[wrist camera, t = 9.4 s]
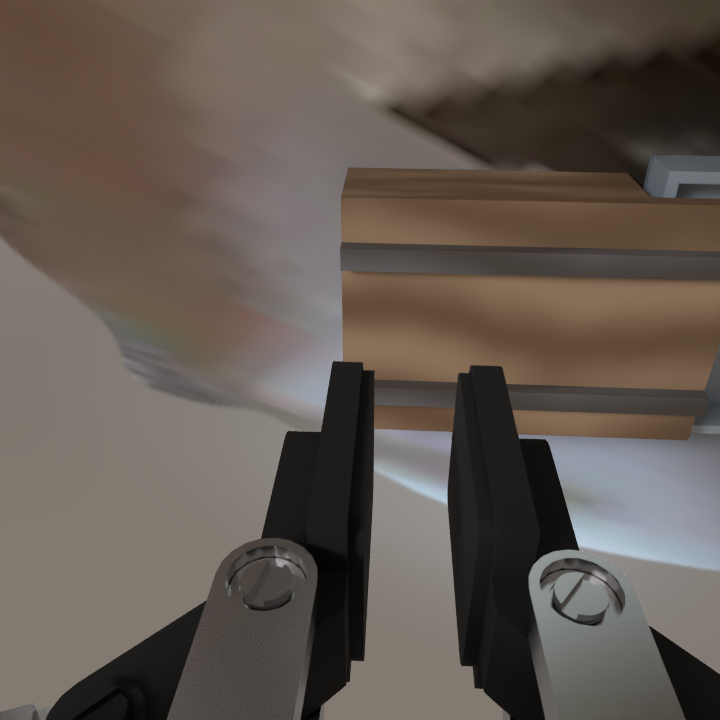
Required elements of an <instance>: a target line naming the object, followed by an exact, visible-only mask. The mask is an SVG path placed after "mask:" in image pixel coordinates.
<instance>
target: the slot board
mask: <svg viewBox="0 0 720 720" xmlns="http://www.w3.org/2000/svg"><path fill="white" fill-rule="evenodd" d="M341 229H342V243H341V248H340V257H341V271H342V310H343V362H363V370H374V372H375V381H374V429H394V430H422V431H449V432H453V423H454V412H455V401H456V390H457V379H458V374H459V373H469V369H470V366H471V365H484V366H502V368H503V372H504V376H505V380H506V385H507V389H508V393H509V398H510V402H511V407H512V411H513V415H514V420H515V424H516V429H517V433H518V434H531V435H558V436H586V437H613V438H640V439H668V440H688V438H689V435H690V432H691V429H692V426H693V423H694V420H695V417H696V416H700V417H704V415H705V412H706V409H707V406H708V403H709V400H710V398H709V397H708V395H707V394H706V392H705V391H704V390H705V387H706V384H707V381H708V378H709V375H710V372H711V369H712V366H713V363H714V360H715V357H716V354H717V351H718V348H719V345H720V199H710V198H662V197H650V196H649V195H648V194H647V193H646V192H645V191H644V190H643V189H642V188H641V187H640V186H639V185H638V184H637V183H636V182H635V180H634V179H633V178H632V177H631V176H630V175H629V174H628V173H598V172H545V171H492V170H439V169H386V168H348V171H347V175H346V180H345V184H344V188H343V192H342V196H341Z"/></svg>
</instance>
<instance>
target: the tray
mask: <svg viewBox="0 0 720 720" xmlns="http://www.w3.org/2000/svg"><path fill="white" fill-rule="evenodd" d="M643 190H644V191H645V192H646V193H647V194H648V195H649V196H650V197H662V198H710V199H720V156H703V155H651V156H650V160H649V164H648V169H647V173H646V177H645V182H644V186H643ZM704 391H705V392H706V394H707V395H708V397H709V398H710V400H709V403H708V406H707V409H706V412H705V415H704V417H700V416H696V417H695V420H694V423H693V426H692V429H691V432H690V433H699V434H720V345H719V348H718V351H717V354H716V357H715V360H714V363H713V366H712V369H711V372H710V375H709V378H708V381H707V384H706V387H705V390H704Z"/></svg>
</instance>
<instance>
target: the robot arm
mask: <svg viewBox="0 0 720 720" xmlns="http://www.w3.org/2000/svg"><path fill="white" fill-rule="evenodd" d="M374 381H375V372H374V370H363V362H337V361H333V364H332V369H331V375H330V381H329V387H328V393H327V400H326V406H325V412H324V418H323V424H322V430H321V432H298V431H288V432H287V433H286V436H285V440H284V444H283V448H282V452H281V457H280V461H279V465H278V470H277V473H276V478H275V482H274V487H273V490H272V495H271V499H270V503H269V507H268V512H267V516H266V520H265V524H264V529H263V533H262V537H261V539H258V540H255V541H251V542H248V543H245V544H244V545H242V546H240V547H238V548H237V549H235V550H233V551H232V552H231V553H230V554H229V555H228V556H227V557H226V558H225V559H224V560H223V561H222V563H221V565H220V566H219V568H218V570H217V572H216V574H215V577H214V580H213V583H212V586H211V589H210V592H209V595H208V598H207V601H205V602H203V603H202V604H200V605H199V606H197V607H196V608H194V609H192V610H191V611H189V612H188V613H186V614H185V615H183V616H182V617H180V618H178V619H177V620H175V621H174V622H172V623H171V624H169V625H167V626H166V627H164V628H163V629H161V630H160V631H158V632H156V633H155V634H153V635H152V636H150V637H149V638H147V639H145V640H144V641H142V642H141V643H139V644H138V645H136V646H135V647H133V648H132V649H130V650H128V651H127V652H125V653H124V654H122V655H120V656H119V657H117V658H116V659H114V660H113V661H111V662H110V663H108V664H107V665H105V666H103V667H102V668H100V669H99V670H97V671H96V672H94V673H92V674H91V675H89V676H88V677H86V678H85V679H83V680H82V681H80V682H78V683H77V684H76V685H74V686H73V687H72V688H71V689H69V690H68V691H67V692H66V693H64V694H63V695H62V696H61V697H60V699H59V700H58V701H57V702H56V704H55V705H54V706H50V707H47V708H43V709H39V710H36V707H35V705H34V703H31V704H27V705H24V706H20V707H16V708H13V709H9V710H5V711H1V712H0V720H324V703H325V702H326V701H328V700H329V699H330V698H331V697H332V696H334V695H335V694H336V693H337V692H338V691H340V690H341V689H342V688H343V687H344V686H346V682H350V669H351V661H352V660H353V661H364V654H365V636H366V617H367V599H368V580H369V562H370V542H371V525H372V506H373V472H374ZM448 513H449V526H450V538H451V551H452V564H453V577H454V590H455V602H456V616H457V628H458V640H459V654H460V663H461V665H462V666H473V673H474V684H475V688H479V689H484V692H485V693H486V694H487V695H488V696H489V697H490V698H491V699H492V700H493V701H495V702H496V703H497V704H498V705H499V706H500V707H501V708H502V709H503V720H720V674H719V673H717V672H715V671H714V670H713V669H711V668H710V667H708V666H707V665H706V664H704V663H703V662H701V661H700V660H698V659H697V658H695V657H694V656H692V655H691V654H689V653H688V652H686V651H685V650H684V649H682V648H681V647H679V646H678V645H676V644H675V643H674V642H672V641H670V640H669V639H668V638H666V637H665V636H663V635H662V634H660V633H659V632H658V631H656V630H655V629H653V628H652V627H650V626H649V625H648V623H647V620H646V618H645V615H644V612H643V610H642V608H641V605H640V602H639V600H638V597H637V595H636V592H635V590H634V588H633V587H632V585H631V583H630V581H629V580H628V578H627V577H626V576H625V575H624V574H623V573H622V572H621V571H620V570H619V569H618V568H617V567H616V566H614V565H613V564H611V563H610V562H608V561H606V560H605V559H603V558H601V557H599V556H596V555H593V554H590V553H588V552H584V551H579V548H578V544H577V541H576V537H575V534H574V530H573V527H572V523H571V520H570V516H569V513H568V509H567V506H566V502H565V499H564V495H563V492H562V488H561V485H560V481H559V478H558V474H557V471H556V467H555V464H554V460H553V457H552V453H551V450H550V447H549V444H548V442H547V441H546V440H545V439H519V437H518V433H517V429H516V424H515V420H514V415H513V411H512V407H511V402H510V398H509V393H508V389H507V385H506V380H505V376H504V372H503V368H502V366H484V365H471V366H470V369H469V373H459V374H458V379H457V390H456V401H455V412H454V423H453V434H452V445H451V457H450V468H449V479H448Z"/></svg>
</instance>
